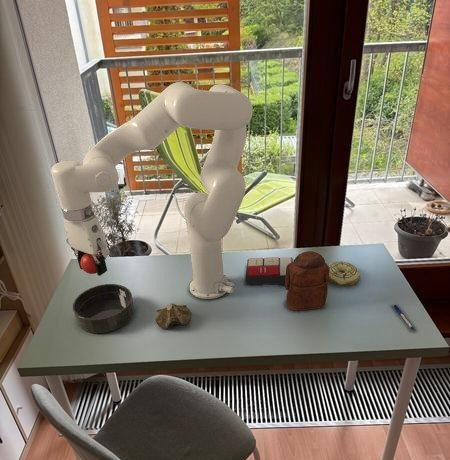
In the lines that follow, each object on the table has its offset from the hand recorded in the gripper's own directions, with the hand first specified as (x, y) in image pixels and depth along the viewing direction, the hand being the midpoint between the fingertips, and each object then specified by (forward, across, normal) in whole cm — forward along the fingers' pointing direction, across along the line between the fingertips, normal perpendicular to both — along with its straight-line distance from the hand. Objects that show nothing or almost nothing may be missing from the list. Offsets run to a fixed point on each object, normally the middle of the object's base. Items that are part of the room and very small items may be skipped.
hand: (93, 269), depth 120 cm
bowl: (+16, 0, 0) cm, 16 cm away
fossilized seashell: (+17, -20, -7) cm, 27 cm away
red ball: (-2, 0, 0) cm, 2 cm away
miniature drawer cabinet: (+16, -34, -41) cm, 56 cm away
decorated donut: (+16, -55, -50) cm, 76 cm away
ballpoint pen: (+16, -77, -39) cm, 88 cm away
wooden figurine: (+16, -50, -32) cm, 62 cm away
